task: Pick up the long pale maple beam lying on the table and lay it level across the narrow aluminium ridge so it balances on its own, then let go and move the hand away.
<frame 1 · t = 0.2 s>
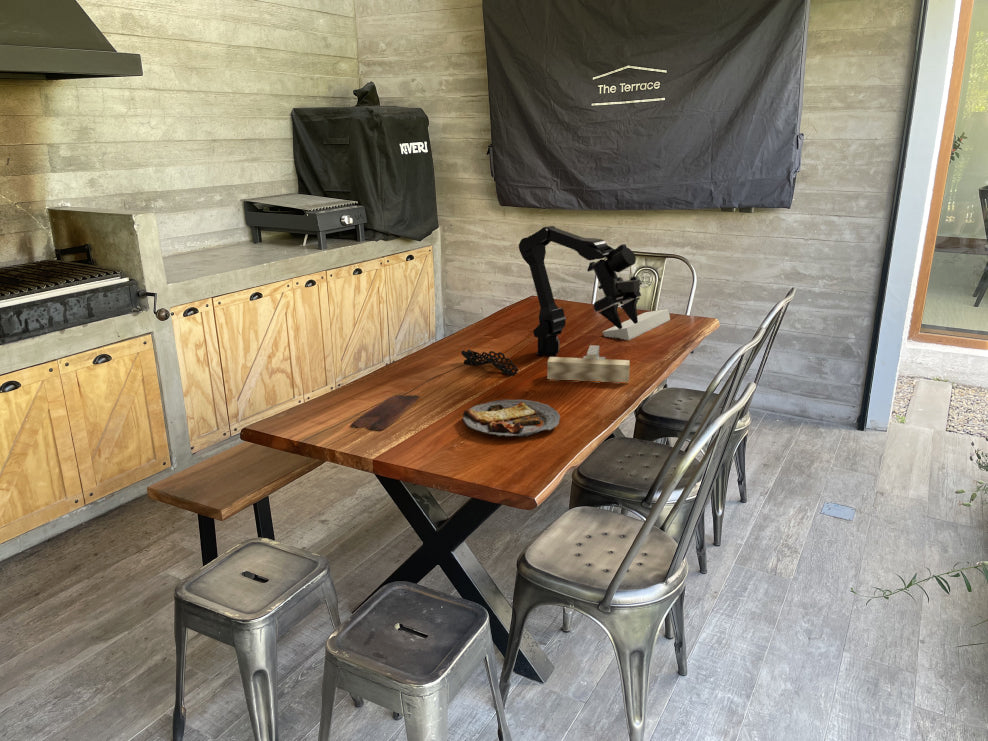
hand: (628, 325, 226), 15 cm above the table, tool tilted 30°, fingers open, 9 cm apart
food plate: (510, 424, 194), on the table
wooden tablet: (389, 414, 203), on the table
ridge: (592, 364, 238), on the table
decorative element: (488, 369, 237), on the table
decorative molding: (637, 329, 280), on the table
maple beam: (588, 380, 225), on the table
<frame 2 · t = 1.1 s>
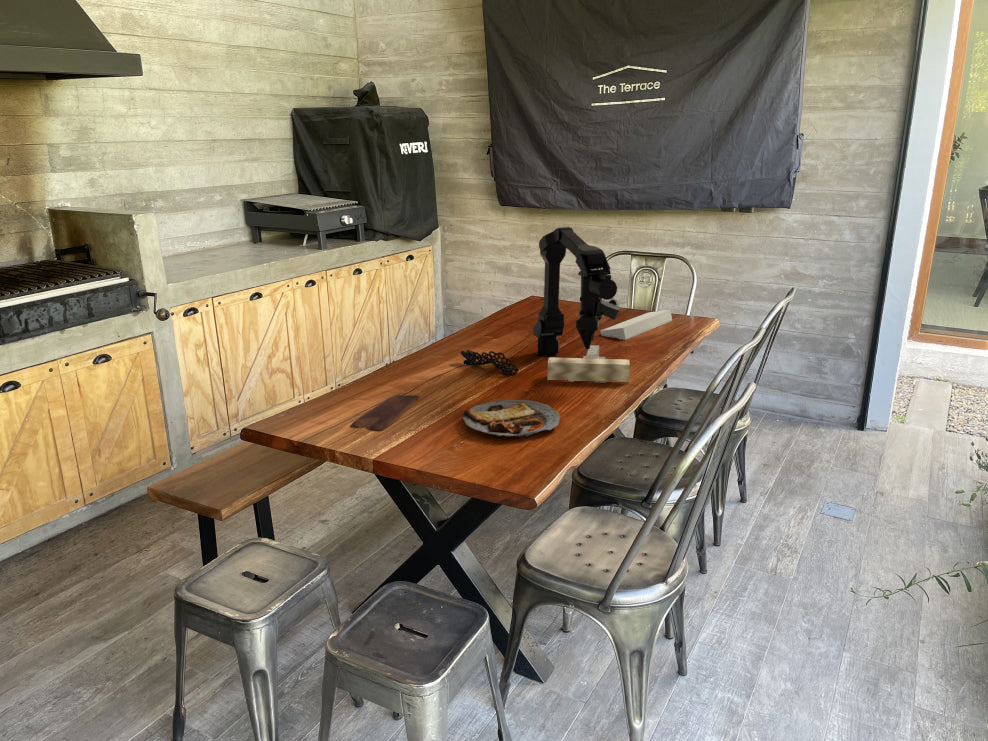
hand: (589, 344, 222), 11 cm above the table, tool pointing down, fingers open, 9 cm apart
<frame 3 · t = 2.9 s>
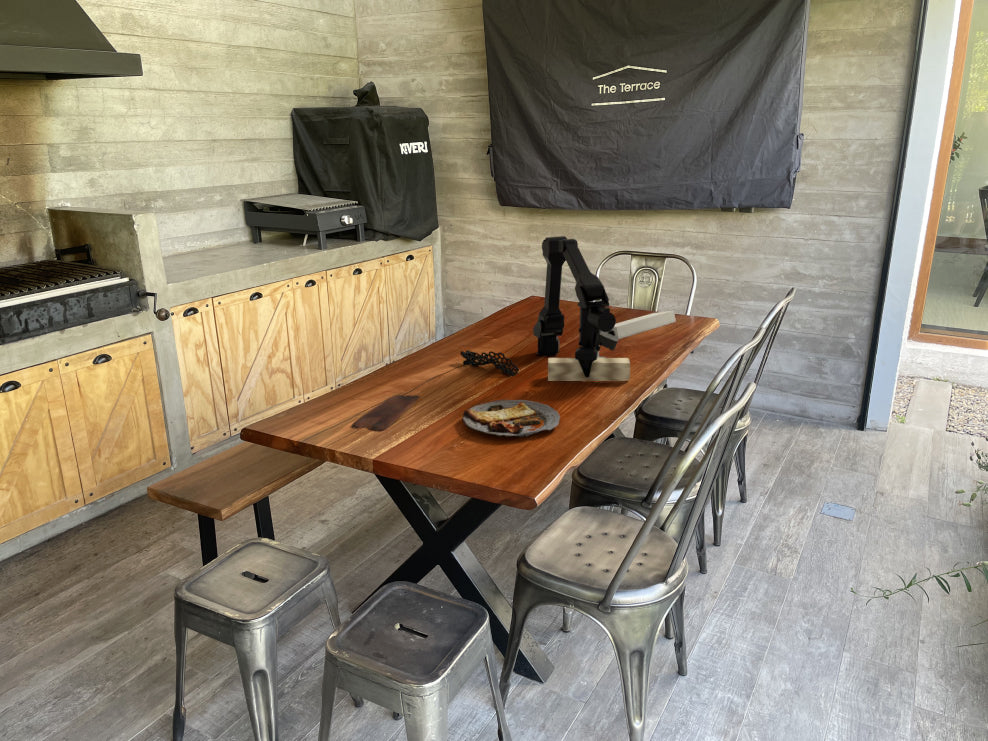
hand: (588, 374, 225), 2 cm above the table, tool pointing down, fingers closed on maple beam, 5 cm apart
maple beam: (588, 379, 225), on the table, touching gripper
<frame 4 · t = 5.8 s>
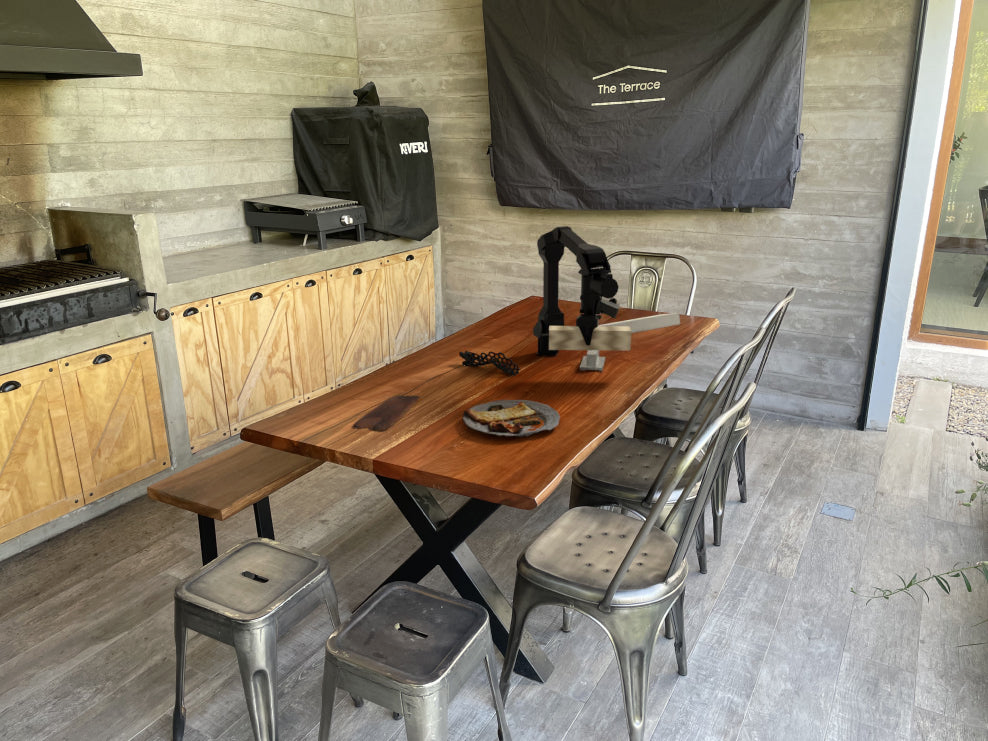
hand: (589, 342, 224), 11 cm above the table, tool pointing down, fingers closed on maple beam, 5 cm apart
maple beam: (589, 347, 224), point 9 cm above the table, touching gripper
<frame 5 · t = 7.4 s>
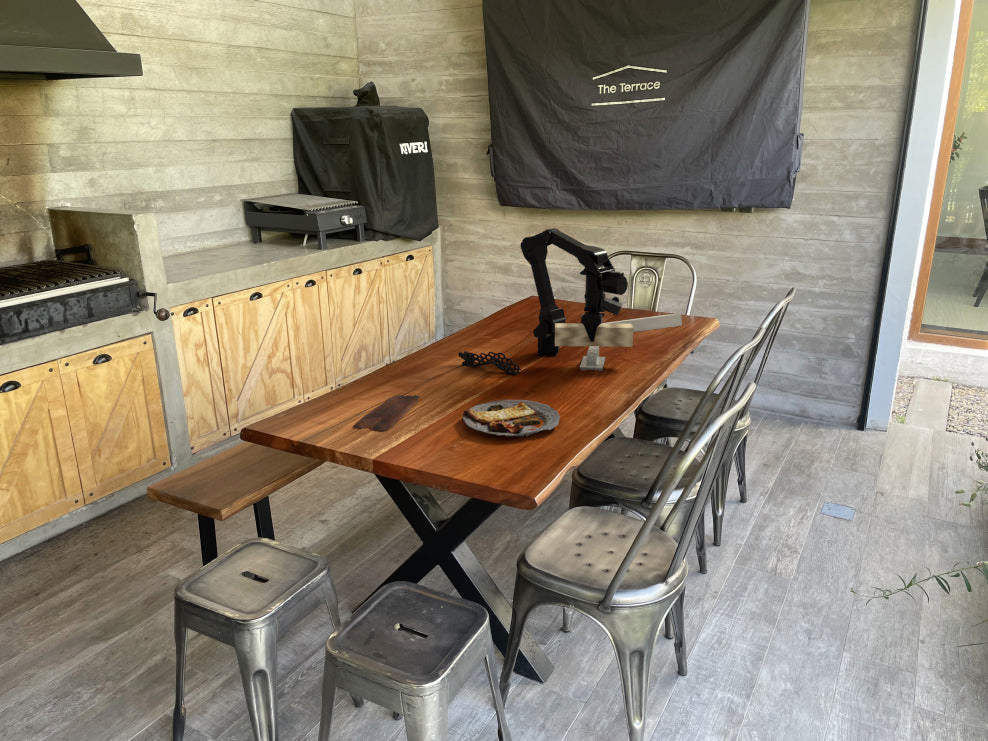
hand: (593, 339, 235), 8 cm above the table, tool pointing down, fingers closed on maple beam, 5 cm apart
maple beam: (593, 344, 236), point 7 cm above the table, touching gripper
when the fingers open (8 cm above the table, at t = 8.7 s): maple beam drops 1 cm, resting on ridge.
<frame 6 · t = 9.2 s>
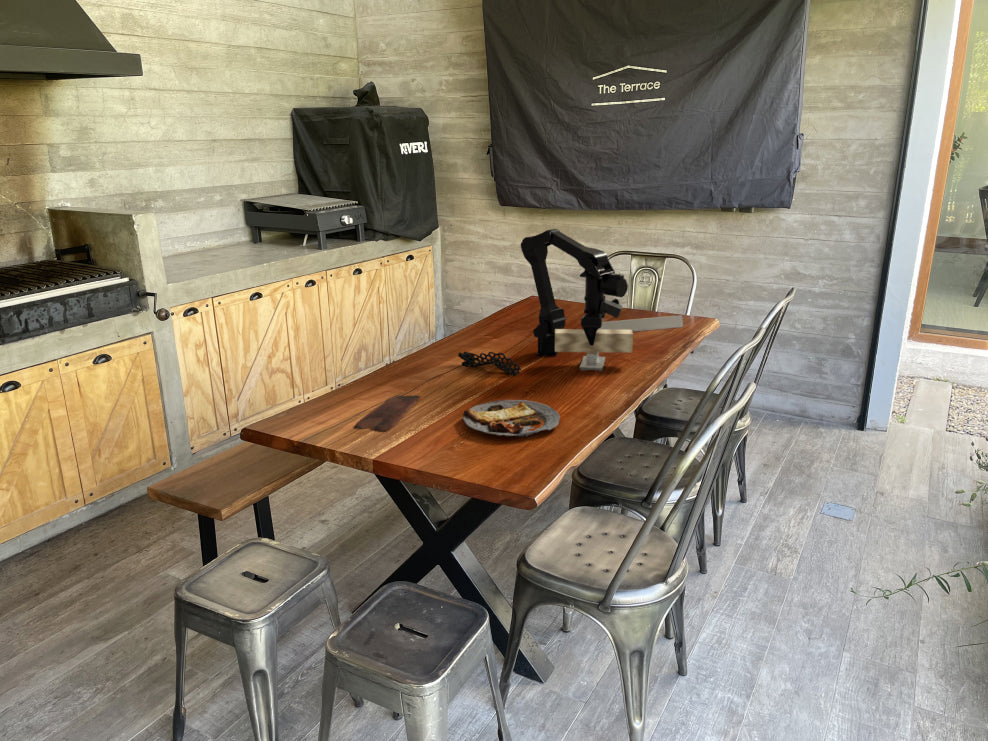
hand: (593, 341, 236), 8 cm above the table, tool pointing down, fingers open, 9 cm apart
maple beam: (593, 349, 237), point 5 cm above the table, touching ridge
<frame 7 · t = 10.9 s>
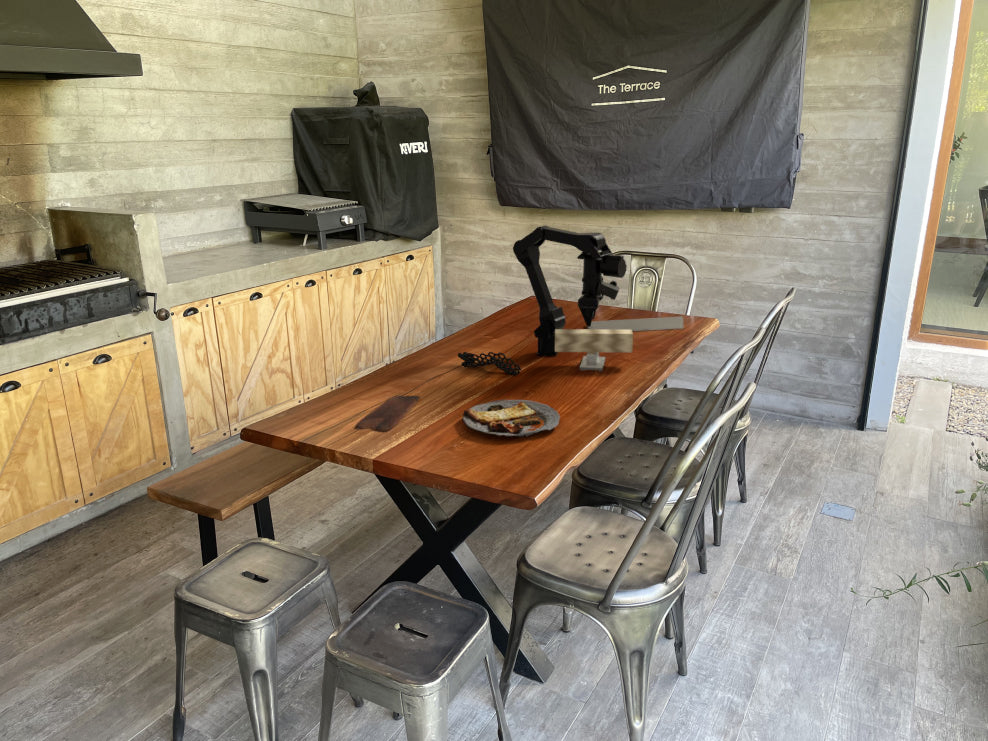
hand: (590, 322, 238), 13 cm above the table, tool pointing down, fingers open, 9 cm apart
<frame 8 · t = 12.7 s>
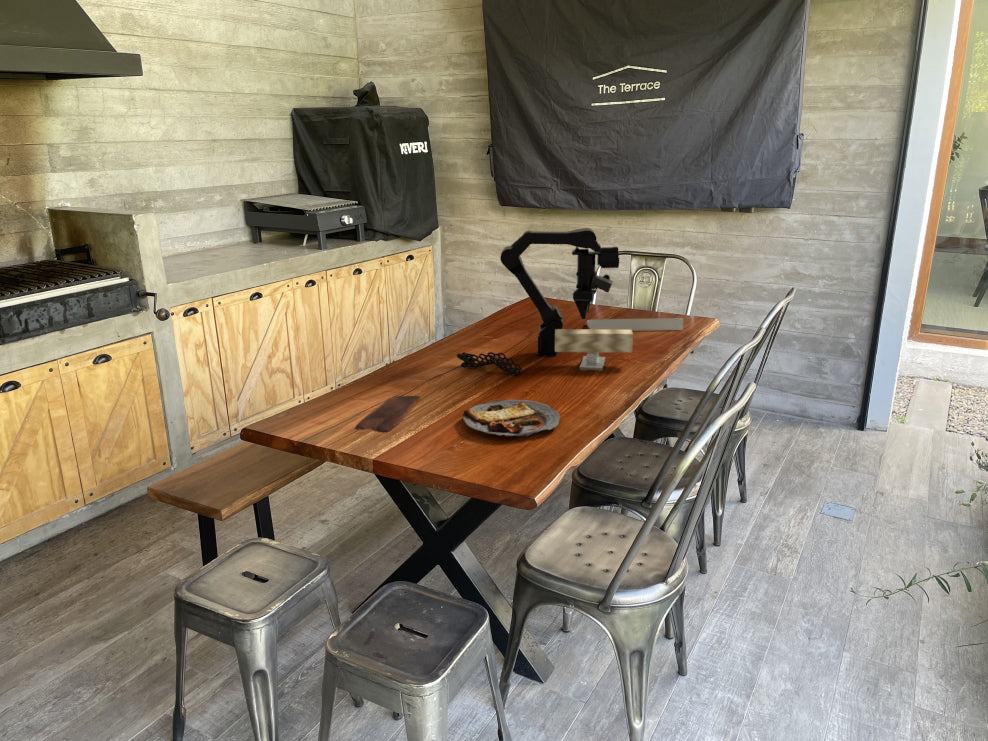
hand: (585, 315, 246), 13 cm above the table, tool pointing down, fingers open, 9 cm apart
at the end: maple beam touching ridge; maple beam point 5.0 cm above the table; maple beam tilted 0° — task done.
